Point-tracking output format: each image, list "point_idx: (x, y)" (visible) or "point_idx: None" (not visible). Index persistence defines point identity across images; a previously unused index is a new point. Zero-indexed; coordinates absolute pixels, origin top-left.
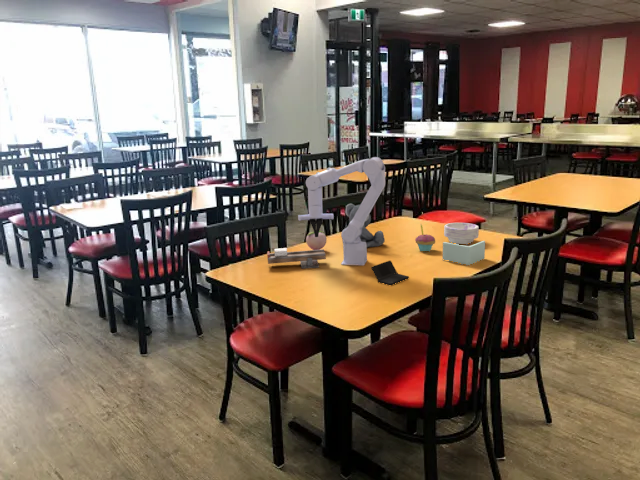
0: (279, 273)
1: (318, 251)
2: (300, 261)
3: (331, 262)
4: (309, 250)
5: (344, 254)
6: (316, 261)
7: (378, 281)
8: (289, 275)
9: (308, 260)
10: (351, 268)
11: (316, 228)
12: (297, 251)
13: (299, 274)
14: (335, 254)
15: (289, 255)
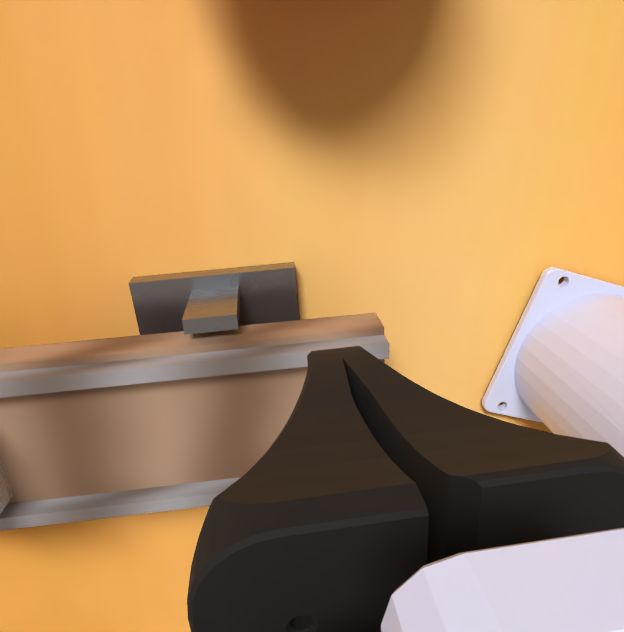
0: (19, 551)
1: None
2: (139, 320)
3: (416, 334)
4: (225, 362)
5: (554, 425)
6: None
7: None
8: (106, 585)
9: None
10: None
11: (373, 417)
12: (84, 378)
13: (174, 569)
14: (496, 64)
15: (13, 427)
